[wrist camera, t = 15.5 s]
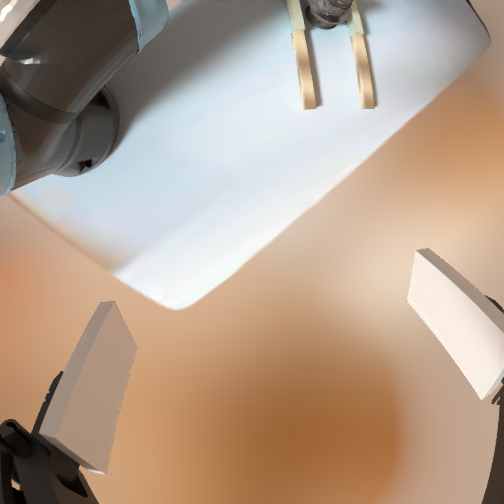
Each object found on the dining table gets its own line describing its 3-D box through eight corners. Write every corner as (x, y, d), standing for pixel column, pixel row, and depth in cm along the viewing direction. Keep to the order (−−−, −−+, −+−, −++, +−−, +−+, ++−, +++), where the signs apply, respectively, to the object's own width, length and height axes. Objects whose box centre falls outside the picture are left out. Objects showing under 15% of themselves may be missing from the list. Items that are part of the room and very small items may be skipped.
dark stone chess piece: (323, -3, 26) (353, -36, 15) (347, 23, 28) (384, -2, 18) (295, 9, 27) (319, -26, 16) (320, 36, 30) (353, 9, 19)
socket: (356, 37, 29) (363, 33, 27) (292, 34, 29) (297, 28, 27) (346, -6, 25) (352, -11, 23) (283, -11, 25) (286, -18, 23)
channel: (369, 108, 35) (374, 108, 34) (303, 109, 35) (306, 109, 33) (358, 37, 29) (362, 35, 28) (291, 33, 29) (293, 30, 28)
